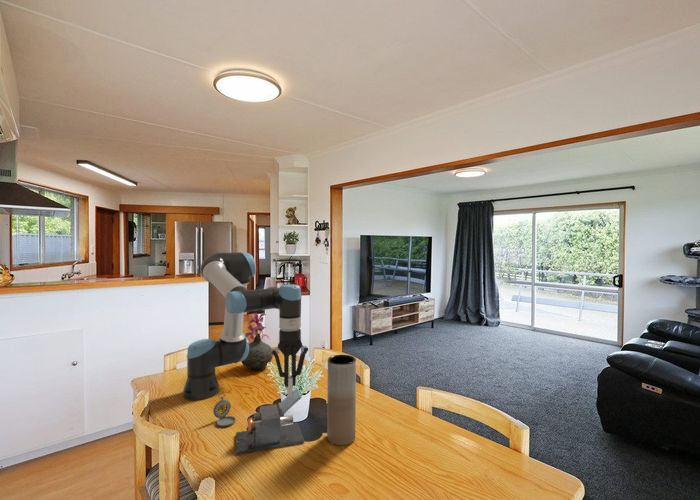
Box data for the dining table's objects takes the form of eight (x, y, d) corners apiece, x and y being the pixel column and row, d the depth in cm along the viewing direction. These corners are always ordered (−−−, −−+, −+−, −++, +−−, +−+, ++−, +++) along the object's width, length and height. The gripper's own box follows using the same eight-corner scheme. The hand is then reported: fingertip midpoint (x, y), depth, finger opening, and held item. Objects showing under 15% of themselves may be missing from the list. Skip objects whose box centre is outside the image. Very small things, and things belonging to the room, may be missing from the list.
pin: (247, 430, 118) (247, 415, 118) (291, 423, 123) (291, 409, 122) (248, 437, 113) (248, 423, 113) (293, 430, 118) (293, 416, 118)
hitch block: (236, 435, 120) (236, 408, 120) (298, 425, 127) (298, 399, 127) (236, 455, 108) (236, 425, 108) (304, 442, 115) (304, 415, 115)
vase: (235, 372, 179) (235, 315, 178) (250, 361, 196) (250, 309, 195) (265, 374, 176) (265, 317, 176) (277, 363, 193) (277, 310, 193)
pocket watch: (229, 428, 124) (229, 401, 124) (208, 426, 126) (208, 399, 126) (240, 417, 132) (240, 392, 132) (221, 415, 134) (221, 390, 134)
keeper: (277, 404, 122) (296, 387, 124) (279, 406, 123) (298, 389, 125) (279, 414, 115) (300, 396, 117) (281, 417, 115) (302, 398, 117)
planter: (359, 433, 122) (359, 356, 121) (350, 448, 112) (350, 365, 112) (333, 427, 125) (333, 353, 125) (322, 442, 116) (323, 361, 115)
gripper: (272, 332, 114) (272, 402, 114) (310, 329, 118) (310, 397, 118) (270, 327, 121) (270, 393, 121) (306, 325, 125) (306, 388, 125)
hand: (289, 395), depth 120 cm, fingers closed
